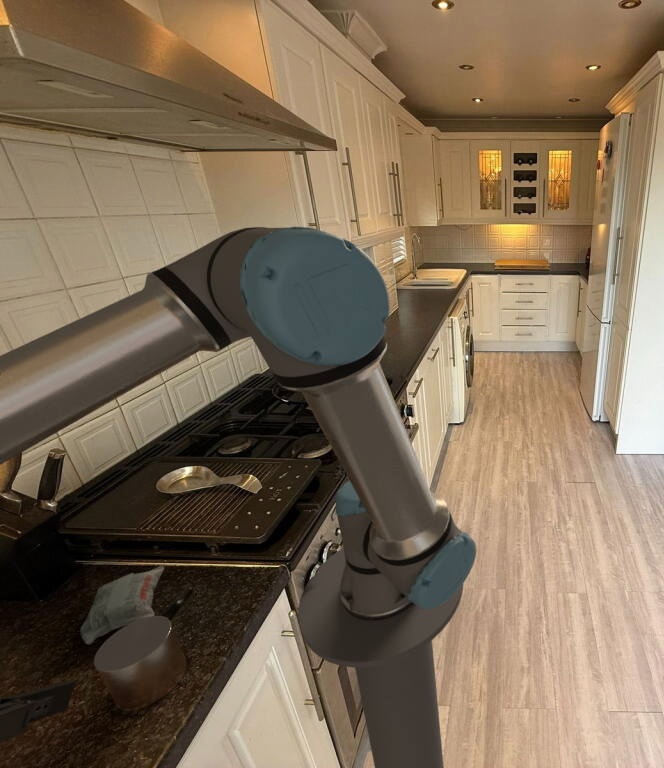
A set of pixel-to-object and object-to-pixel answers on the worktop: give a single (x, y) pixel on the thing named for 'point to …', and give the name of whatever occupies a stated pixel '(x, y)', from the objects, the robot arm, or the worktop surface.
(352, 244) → the robot arm
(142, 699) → the saucepan
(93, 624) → the packaged food
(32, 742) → the worktop surface
